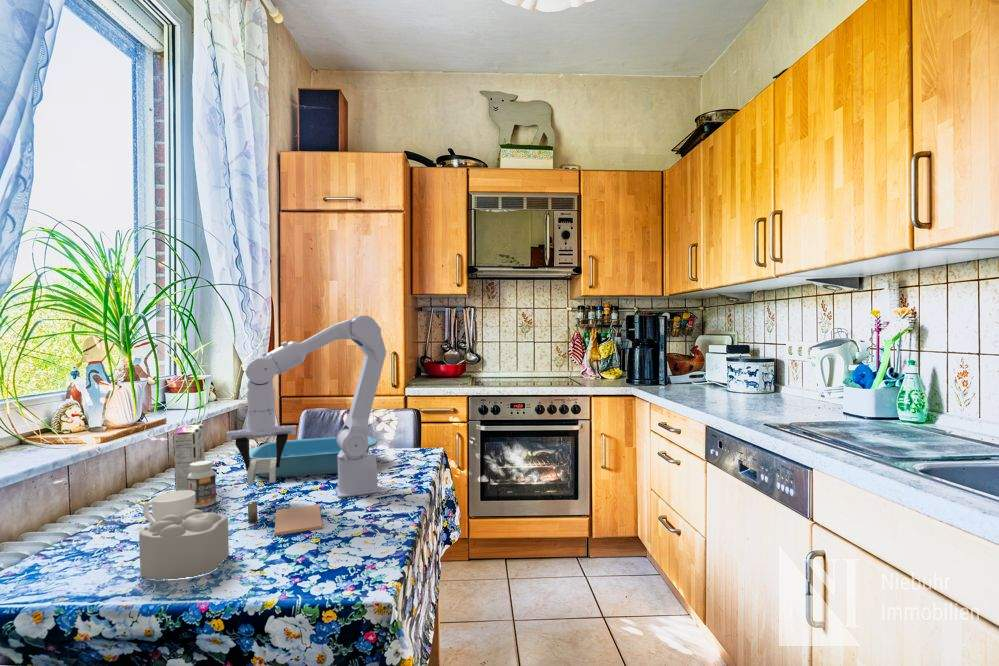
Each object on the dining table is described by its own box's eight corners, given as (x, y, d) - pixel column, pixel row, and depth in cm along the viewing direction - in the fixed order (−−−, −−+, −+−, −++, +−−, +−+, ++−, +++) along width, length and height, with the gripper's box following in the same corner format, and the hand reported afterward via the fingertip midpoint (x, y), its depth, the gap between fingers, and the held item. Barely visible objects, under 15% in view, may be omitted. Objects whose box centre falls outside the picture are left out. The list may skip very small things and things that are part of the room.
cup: (184, 534, 103) (183, 501, 103) (132, 537, 102) (131, 503, 102) (203, 520, 111) (202, 489, 111) (155, 522, 110) (154, 491, 110)
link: (276, 470, 124) (276, 457, 124) (275, 482, 115) (275, 468, 115) (251, 472, 122) (251, 459, 122) (247, 484, 113) (247, 470, 113)
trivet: (319, 506, 118) (318, 504, 118) (322, 528, 105) (322, 525, 105) (276, 512, 114) (276, 510, 114) (274, 535, 101) (274, 532, 101)
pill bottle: (203, 509, 118) (202, 466, 118) (182, 508, 119) (180, 465, 119) (221, 501, 123) (220, 460, 123) (201, 500, 125) (199, 459, 124)
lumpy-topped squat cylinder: (209, 578, 85) (207, 526, 85) (124, 584, 83) (123, 531, 83) (234, 551, 95) (233, 504, 95) (159, 556, 93) (158, 509, 93)
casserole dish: (235, 484, 137) (234, 458, 137) (257, 463, 159) (256, 440, 159) (376, 473, 145) (376, 448, 145) (378, 455, 167) (378, 433, 167)
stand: (257, 519, 111) (257, 500, 111) (257, 522, 109) (256, 503, 109) (248, 520, 110) (248, 502, 110) (248, 523, 108) (247, 504, 108)
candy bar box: (184, 487, 135) (182, 425, 135) (206, 484, 137) (204, 423, 137) (173, 500, 125) (171, 433, 125) (197, 497, 127) (195, 431, 126)
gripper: (223, 415, 112) (226, 477, 113) (294, 409, 118) (296, 468, 118) (227, 410, 119) (229, 469, 119) (295, 405, 124) (296, 461, 125)
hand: (263, 468), depth 119 cm, fingers closed on link, 6 cm apart
